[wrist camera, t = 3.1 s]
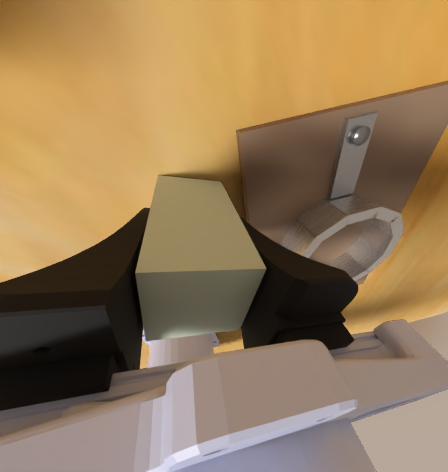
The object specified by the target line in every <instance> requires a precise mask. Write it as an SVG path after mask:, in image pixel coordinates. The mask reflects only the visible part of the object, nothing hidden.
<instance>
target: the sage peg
mask: <svg viewBox="0 0 448 472" xmlns="http://www.w3.org/2000/svg"><path fill="white" fill-rule="evenodd" d="M265 271H266V267H265V265H264V263H263V261H262V259H261V257H260V255H259V253H258V251H257V249H256V248H255V246H254V244H253V242H252V240H251V238H250V236H249V234H248V232H247V230H246V228H245V227H244V225H243V223H242V221H241V219H240V217H239V215H238V213H237V211H236V209H235V207H234V206H233V204H232V202H231V200H230V198H229V196H228V194H227V192H226V190H225V188H224V186H223V185H222V183H221V181H211V180H201V179H191V178H182V177H172V176H162V175H158V178H157V182H156V186H155V191H154V195H153V199H152V203H151V208H150V212H149V216H148V220H147V225H146V229H145V233H144V237H143V242H142V246H141V250H140V255H139V259H138V263H137V267H136V272H135V275H136V281H137V288H138V294H139V301H140V308H141V314H142V321H143V327H144V334H145V340H146V341H154V340H162V339H170V338H177V337H185V336H193V335H201V334H209V333H217V332H225V331H233V330H240V328H241V326H242V323H243V321H244V319H245V317H246V314H247V312H248V310H249V307H250V305H251V303H252V301H253V298H254V296H255V294H256V292H257V289H258V287H259V285H260V282H261V280H262V278H263V276H264V273H265Z"/></svg>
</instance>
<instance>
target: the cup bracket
mask: <svg viewBox="0 0 448 472" xmlns="http://www.w3.org/2000/svg"><path fill="white" fill-rule="evenodd" d="M447 124H448V81H445V82H441V83H437V84H432V85H428V86H424V87H420V88H415V89H411V90H407V91H402V92H398V93H394V94H389V95H385V96H381V97H377V98H372V99H368V100H364V101H359V102H355V103H351V104H347V105H342V106H338V107H334V108H329V109H325V110H321V111H317V112H312V113H308V114H304V115H299V116H295V117H291V118H287V119H282V120H278V121H274V122H269V123H265V124H261V125H256V126H252V127H248V128H244V129H239V130H236V133H237V142H238V151H239V160H240V169H241V178H242V187H243V196H244V205H245V215H246V222H248V223H249V224H250V225H251V226H253V227H254V228H255V229H257V230H258V231H259V232H261V233H262V234H264V235H265V236H267V237H268V238H270V239H271V240H273V241H274V242H276V243H278V244H280V245H281V246H283V247H285V248H287V249H289V250H291V251H293V252H295V253H298V254H300V255H302V256H304V257H307V258H309V259H312V260H315V261H317V262H320V263H323V264H326V265H329V266H332V267H336V268H339V269H342V270H344V271H346V272H347V273H348V274H349V275H350V277H351V278H352V279H353V280H354V281H355V282H356V283H357V284H358V285H360V284H363V283H364V281H365V279H366V277H367V275H368V273H370V272H371V271H372V270H374V269H375V268H376V267H377V266H378V265H379V264H380V263H381V262H382V261H383V260H385V259H386V258H387V257H388V256H389V255H390V254H391V253H392V251H393V250H394V248H395V246H396V244H397V243H398V241H399V239H400V238H401V236H402V234H403V232H404V231H403V222H402V214H401V211H402V209H403V207H404V205H405V204H406V202H407V200H408V198H409V196H410V194H411V192H412V190H413V188H414V187H415V185H416V183H417V181H418V179H419V177H420V175H421V173H422V171H423V170H424V168H425V166H426V164H427V162H428V160H429V158H430V156H431V154H432V153H433V151H434V149H435V147H436V145H437V143H438V141H439V139H440V137H441V135H442V134H443V132H444V130H445V128H446V126H447Z"/></svg>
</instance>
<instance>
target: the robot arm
mask: <svg viewBox="0 0 448 472" xmlns="http://www.w3.org/2000/svg"><path fill="white" fill-rule="evenodd" d="M149 212H150V208H143V209H142V210H141V211H140V212H139V213H138V214H137V215H136V216H135V217H133V218H132V219H131V220H130V221H129V222H128V223H127V224H125V225H124V226H123V227H122V228H120V229H119V230H118V231H116V232H115V233H114V234H112V235H111V236H109V237H108V238H106V239H105V240H103V241H101V242H100V243H98V244H96V245H94V246H92V247H90V248H88V249H86V250H84V251H82V252H80V253H78V254H76V255H74V256H72V257H70V258H68V259H65V260H63V261H61V262H58V263H56V264H53V265H51V266H48V267H46V268H43V269H40V270H37V271H34V272H32V273H29V274H26V275H23V276H20V277H17V278H14V279H11V280H8V281H5V282H1V283H0V472H377V471H376V470H375V468H374V466H373V464H372V462H371V460H370V458H369V457H368V455H367V453H366V451H365V449H364V447H363V445H362V444H361V441H360V440H359V438H358V436H357V434H356V432H355V430H354V428H353V427H352V425H351V422H354V421H357V420H360V419H363V418H366V417H369V416H372V415H375V414H378V413H381V412H384V411H387V410H389V409H393V408H395V407H398V406H402V405H405V404H407V403H411V402H414V401H417V400H419V399H422V398H425V397H427V396H430V395H433V394H436V393H438V392H441V391H444V390H447V389H448V361H447V360H445V358H444V357H442V355H441V354H440V353H439V352H438V351H437V350H436V349H434V348H433V347H432V346H431V345H430V344H429V343H428V342H427V341H426V340H425V339H424V338H423V337H422V336H421V335H420V334H419V333H418V332H417V331H416V330H415V329H414V328H413V327H412V326H411V325H410V324H409V323H408V322H407V321H406V320H404V319H400V320H393V321H387V322H384V323H382V324H380V325H379V326H377V327H376V328H375V329H374V331H372V332H365V333H359V334H353V335H351V334H350V333H349V331H348V330H347V329H346V327H345V326H344V325H343V322H345V318H344V317H343V315H342V314H341V311H342V310H343V309H344V308H345V307H346V306H347V305H348V304H349V303H350V302H351V301H352V300H353V299H354V297H355V296H356V294H357V292H358V284H357V283H356V282H355V281H354V280H353V279H352V278H351V277H350V275H349V274H348V273H347V272H346V271H344V270H342V269H339V268H336V267H332V266H329V265H326V264H323V263H320V262H317V261H315V260H312V259H309V258H307V257H304V256H302V255H300V254H298V253H295V252H293V251H291V250H289V249H287V248H285V247H283V246H281V245H280V244H278V243H276V242H274V241H273V240H271V239H270V238H268V237H267V236H265V235H264V234H262V233H261V232H259V231H258V230H257V229H255V228H254V227H253V226H251V225H250V224H249V223H248V222H246V221H245V220H244V219H242V218H241V217H240V216H239V217H240V219H241V221H242V223H243V225H244V227H245V228H246V230H247V232H248V234H249V236H250V238H251V240H252V242H253V244H254V246H255V248H256V249H257V251H258V253H259V255H260V257H261V259H262V261H263V263H264V265H265V267H266V271H265V273H264V276H263V278H262V280H261V282H260V285H259V287H258V289H257V292H256V294H255V296H254V298H253V301H252V303H251V305H250V307H249V310H248V312H247V314H246V317H245V319H244V321H243V323H242V326H241V330H242V336H243V344H244V349H241V350H235V351H229V352H222V353H216V354H214V350H213V347H215V346H218V345H219V344H220V343H219V340H218V338H217V336H216V333H209V334H201V335H193V336H185V337H177V338H170V339H162V340H154V341H146V340H145V334H144V328H143V321H142V314H141V308H140V301H139V294H138V288H137V281H136V275H135V272H136V267H137V263H138V259H139V255H140V250H141V246H142V242H143V237H144V233H145V229H146V225H147V220H148V216H149ZM142 340H143V341H144V342H146V343H147V344H148V345H149V346H150V352H149V361H148V368H144V369H140V357H141V346H142Z"/></svg>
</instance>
